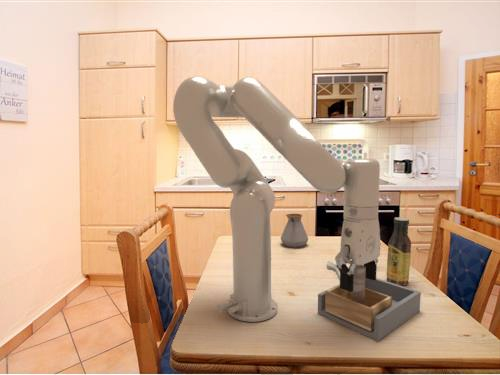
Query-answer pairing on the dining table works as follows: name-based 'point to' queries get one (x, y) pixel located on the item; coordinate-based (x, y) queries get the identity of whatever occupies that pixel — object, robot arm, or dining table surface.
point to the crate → (357, 301)
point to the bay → (390, 319)
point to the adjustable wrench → (333, 268)
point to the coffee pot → (294, 232)
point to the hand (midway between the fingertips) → (358, 283)
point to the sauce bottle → (399, 253)
